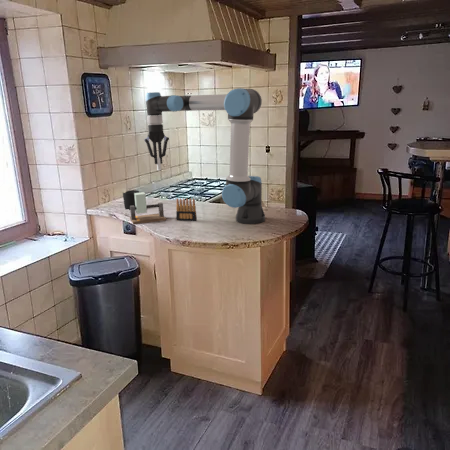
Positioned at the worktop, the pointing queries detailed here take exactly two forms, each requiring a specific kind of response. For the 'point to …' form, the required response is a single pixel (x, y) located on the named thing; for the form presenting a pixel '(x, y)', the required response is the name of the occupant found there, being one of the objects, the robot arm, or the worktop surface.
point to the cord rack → (147, 217)
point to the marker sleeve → (140, 202)
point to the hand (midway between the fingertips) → (159, 170)
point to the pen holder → (129, 198)
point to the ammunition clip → (186, 210)
